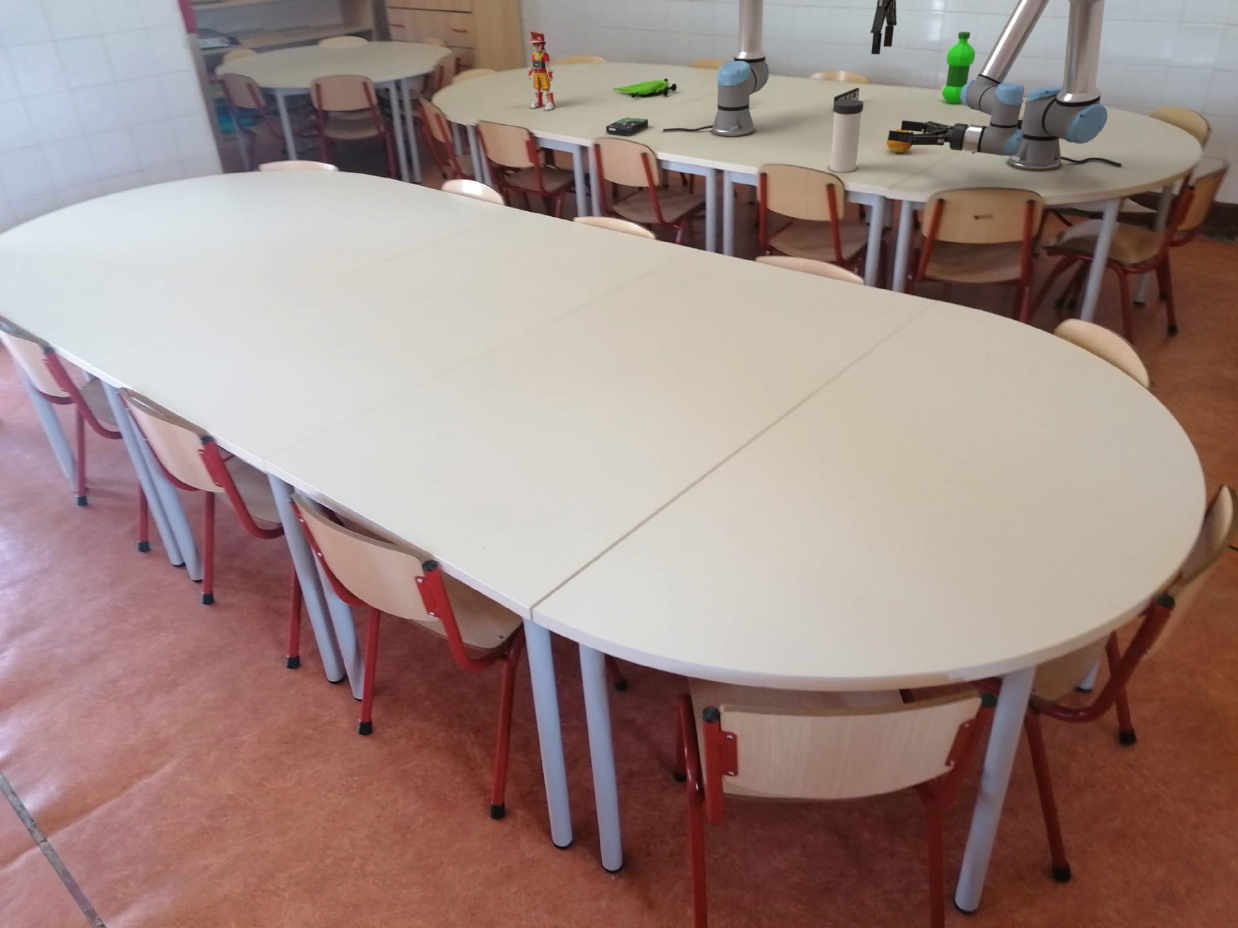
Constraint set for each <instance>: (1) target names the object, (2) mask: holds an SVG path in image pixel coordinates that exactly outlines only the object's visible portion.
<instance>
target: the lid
mask: <svg viewBox="0 0 1238 928" xmlns="http://www.w3.org/2000/svg"><path fill="white" fill-rule="evenodd" d="M833 106H834V110H833V112H834V113H835V112H836V113H840V114H855V113H860V112H861V113H862V112H863V111H864V102H863V101H862V100H861V99H860V100H859V99H858V100H854V99H844V100H838V101H835V102H834V101H833Z"/></svg>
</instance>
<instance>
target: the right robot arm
mask: <svg viewBox="0 0 1238 928" xmlns="http://www.w3.org/2000/svg"><path fill="white" fill-rule="evenodd" d="M1067 1H1068V2H1069V12H1068V22H1067V35H1066V37H1067V38H1066V46H1065V47H1066V48H1065V59H1064V70H1063V71H1064V72H1063V82H1062V86H1061V85H1057V86H1056V85H1055V86H1053V85H1051V86H1041V87H1040V86H1039V87H1035V88H1032V89H1031V90H1030V91H1029V92H1028V94H1027V97H1026V101H1025V106H1024V111H1023V115H1022V116H1023V121H1022V127H1021V130H1020V129H1017V123H1018V119H1019V118H1020V114H1021V110H1022V106H1023V103H1024V95H1025V86H1024V85H1023V84H1021V83H1018V82H1017V83H1015V82H1004V81H1005V80H1006V78H1007V76H1008V74H1009V73H1010V72H1011V69H1012V67H1013V66H1014V64H1015V62H1016V60H1017V58H1018V57H1019V55H1020V53H1021V51H1022V50H1023V48H1024V46H1025V44H1026V43H1027V41H1028V39H1029V37H1030V36H1031V33H1032V32H1033V30H1034V28H1035V27H1036V26H1037V23H1038V21H1039V20H1040V18H1041V17H1042V14H1043V13H1044V11H1045V9H1046V7H1047V5H1048V4H1049V2H1050V0H1018V2H1017V3H1016V5H1015V7H1014V8H1013V11H1012V12H1011V13H1010V16H1009V17H1008V19H1007V21H1006V22H1005V25H1004V27H1003V28H1002V31H1001V32H1000V34H999V36H998V38H997V40H996V41H995V43H994V45H993V47H992V49H991V50H990V51H989V54H988V56H987V57H986V59H985V61H984V63H983V64H982V67H981V69H980V70H979V72H978V74H977V76H976V77H975V79H971V80H969V81H967V84H966V85H964V86H963V88H962V90H961V94H960V98H961V103H962V104H963V106H965V107H966V108H970V109H971V110H973V111H978V112H981V113H983V114H986V115H989V116H990V120H989V125H988V126H987V125H981V124H973V123H971V124H970V125H969V124H968V123H959V122H957V123H955V124H954V125H948V124H944V123H939V122H935V121H932V120H928V121H915V120H914V121H913V120H902V121H901V126H900V129H901V130H907V131H909V132H910V133H909V132H900V131H894V130H891V129H890V130H889V131H888V136H889V137H888V136H887V138H888V140H891V141H900V142H908V143H910V145H912V146H941V147H942V146H945V143H948V144H949V149H950V150H951V151H960V152H962V151H965V152H970V153H971V154H972V155H974V154H976V153H979V154H988V155H995V156H1000V157H1002V156H1004V157H1009V158H1008V164H1009V165H1010V166H1012V167H1014V168H1016V169H1021V170H1027V171H1051V170H1055V169H1058V168H1059V167H1060V166H1061V162H1062V160H1064V161H1067V162H1070V163H1073V164H1083V163H1086V162H1090V161H1100V162H1104V163H1108V164H1111V165H1114V166H1118V167H1122V164H1123V163H1121V162H1116V161H1113V160H1112V159H1111V160H1110V159H1107V158H1103V157H1086V158H1084V159H1080V160H1076V159H1073V158H1069V157H1066V156H1062V154H1061V145H1060V144H1061V143H1060V139H1061V140H1065V141H1066V142H1068V143H1071V144H1072V143H1074V144H1076V145H1077V144H1078V145H1082V144H1087V143H1089V142H1090V141H1093V139H1095V138H1096V137H1097V136H1099V134H1100V133H1101V132H1102V131H1103V129H1104V127H1105V126H1106V123H1107V121H1108V110H1107V108H1106V107H1105V106H1104V105H1103V104H1101V95H1102V93H1101V90H1100V89H1099V88H1098V87H1097V77H1098V68H1099V60H1100V59H1099V58H1100V48H1101V41H1102V40H1101V39H1102V30H1103V29H1102V28H1103V21H1104V12H1105V0H1067ZM914 132H916V133H914Z"/></svg>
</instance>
